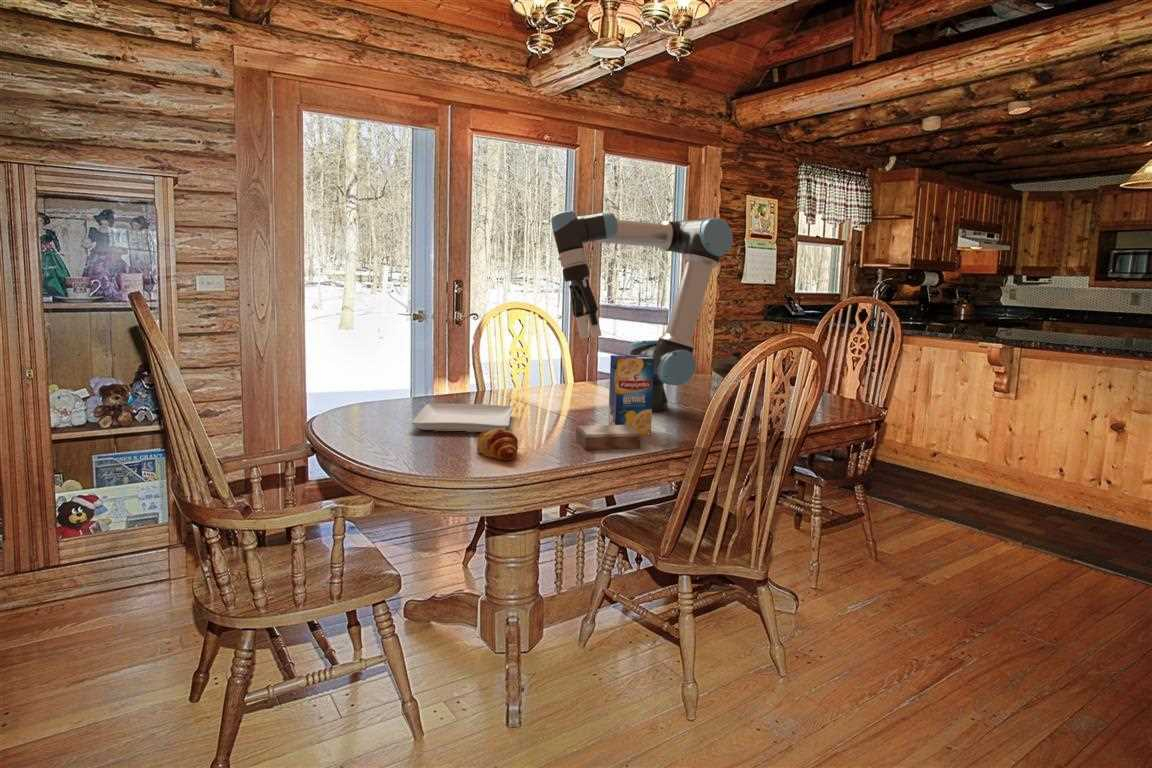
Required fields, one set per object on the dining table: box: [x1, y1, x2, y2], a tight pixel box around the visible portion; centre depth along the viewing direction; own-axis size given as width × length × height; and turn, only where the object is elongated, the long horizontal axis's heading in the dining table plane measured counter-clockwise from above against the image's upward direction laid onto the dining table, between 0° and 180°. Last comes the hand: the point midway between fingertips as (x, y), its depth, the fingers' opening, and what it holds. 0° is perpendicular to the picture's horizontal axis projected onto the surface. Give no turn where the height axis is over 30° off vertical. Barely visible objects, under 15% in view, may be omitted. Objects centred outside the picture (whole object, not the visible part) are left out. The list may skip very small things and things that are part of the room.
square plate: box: [411, 403, 514, 433], centre depth 212 cm, size 27×27×4 cm
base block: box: [575, 424, 642, 451], centre depth 193 cm, size 15×11×4 cm
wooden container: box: [709, 348, 757, 418], centre depth 233 cm, size 15×15×22 cm
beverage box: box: [607, 354, 655, 435], centre depth 206 cm, size 7×11×22 cm, turn 105°
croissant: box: [476, 429, 519, 462], centre depth 180 cm, size 21×10×8 cm, turn 26°
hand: (590, 337), depth 210 cm, fingers open, 13 cm apart
